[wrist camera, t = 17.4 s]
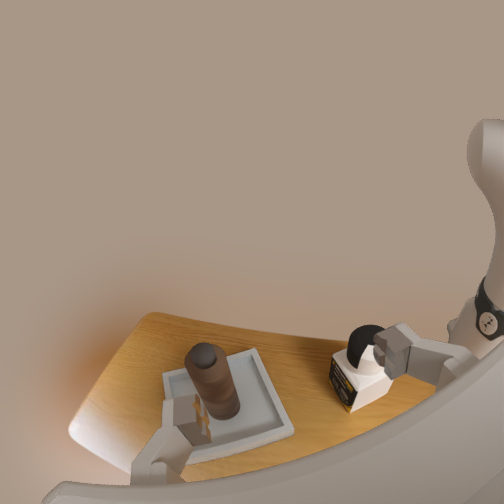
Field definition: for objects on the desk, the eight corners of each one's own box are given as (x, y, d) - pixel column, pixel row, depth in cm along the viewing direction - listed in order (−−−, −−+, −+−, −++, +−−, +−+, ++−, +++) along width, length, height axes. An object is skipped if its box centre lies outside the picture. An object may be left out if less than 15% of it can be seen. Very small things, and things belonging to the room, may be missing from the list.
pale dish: (256, 356, 46) (255, 347, 45) (293, 434, 33) (294, 428, 31) (166, 381, 43) (161, 373, 41) (183, 465, 29) (177, 461, 28)
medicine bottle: (327, 380, 40) (335, 330, 34) (364, 363, 42) (378, 311, 35) (348, 414, 34) (365, 369, 28) (387, 393, 36) (410, 345, 29)
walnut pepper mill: (234, 388, 40) (218, 331, 33) (244, 414, 36) (228, 362, 29) (203, 397, 39) (178, 342, 32) (211, 424, 35) (184, 374, 28)
